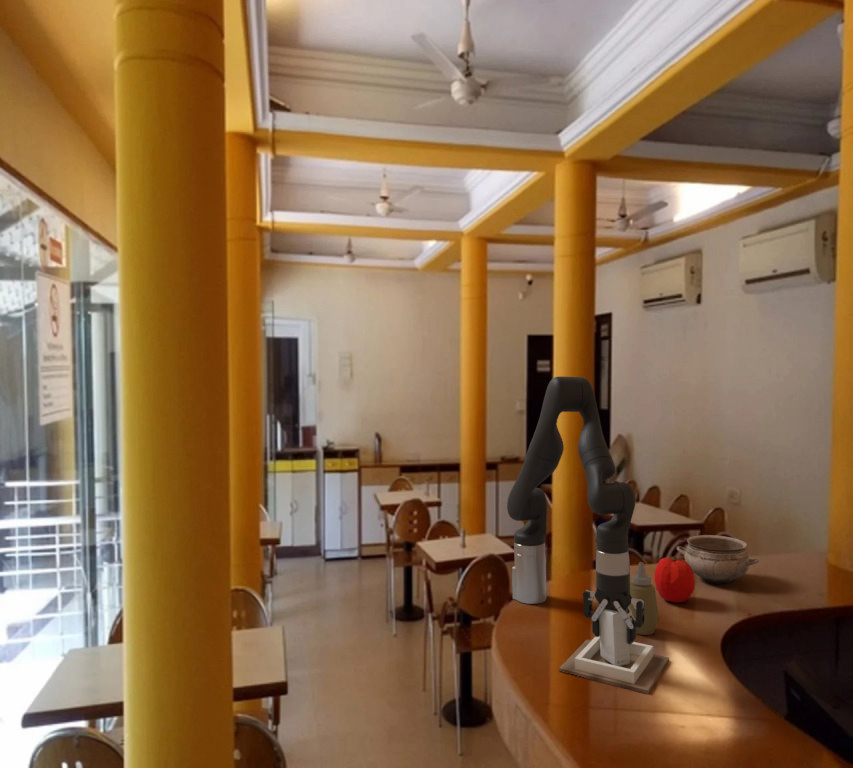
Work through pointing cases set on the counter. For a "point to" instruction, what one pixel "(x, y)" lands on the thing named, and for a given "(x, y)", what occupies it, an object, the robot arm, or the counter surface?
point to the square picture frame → (611, 670)
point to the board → (644, 680)
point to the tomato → (674, 579)
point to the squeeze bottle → (647, 592)
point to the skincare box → (613, 638)
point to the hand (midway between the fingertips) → (614, 639)
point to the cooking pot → (717, 557)
